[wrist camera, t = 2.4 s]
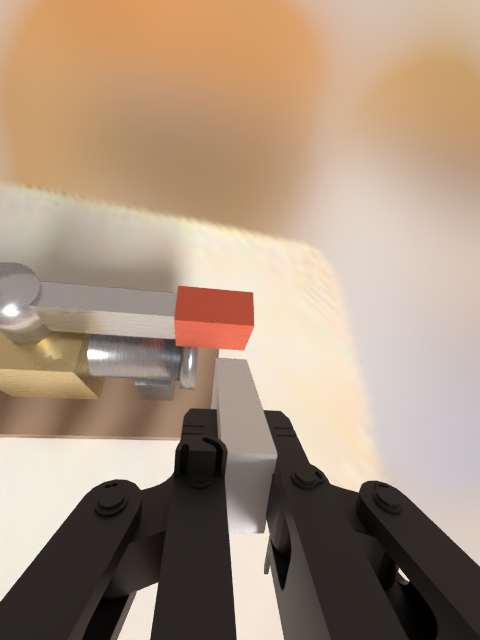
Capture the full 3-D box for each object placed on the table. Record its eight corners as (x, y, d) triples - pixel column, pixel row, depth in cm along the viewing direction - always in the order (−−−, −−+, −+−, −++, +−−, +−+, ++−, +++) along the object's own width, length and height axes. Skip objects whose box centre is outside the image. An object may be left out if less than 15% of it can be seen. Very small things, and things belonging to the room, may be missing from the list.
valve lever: (-7, 342, 19) (-50, 310, 16) (14, 297, 21) (-20, 259, 17) (243, 357, 21) (254, 332, 18) (243, 315, 23) (253, 285, 20)
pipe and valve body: (-67, 403, 26) (-200, 359, 17) (-30, 334, 29) (-125, 267, 21) (192, 411, 29) (195, 378, 20) (197, 348, 33) (202, 296, 24)
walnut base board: (-95, 435, 26) (-114, 431, 24) (-32, 320, 32) (-45, 311, 30) (213, 441, 30) (215, 438, 28) (217, 338, 36) (219, 330, 34)
